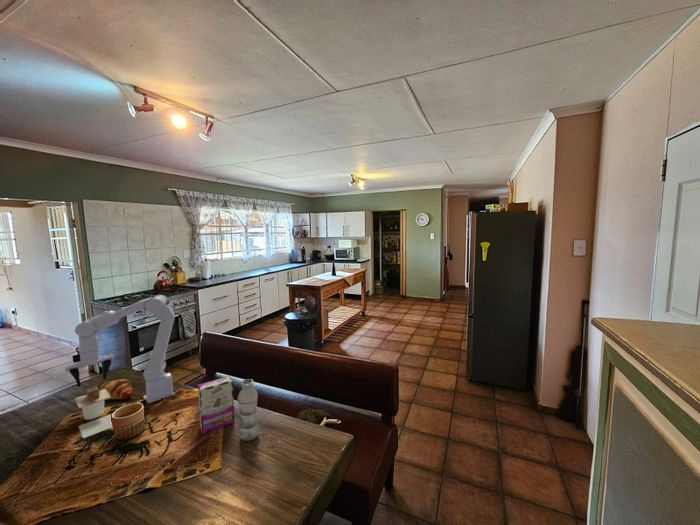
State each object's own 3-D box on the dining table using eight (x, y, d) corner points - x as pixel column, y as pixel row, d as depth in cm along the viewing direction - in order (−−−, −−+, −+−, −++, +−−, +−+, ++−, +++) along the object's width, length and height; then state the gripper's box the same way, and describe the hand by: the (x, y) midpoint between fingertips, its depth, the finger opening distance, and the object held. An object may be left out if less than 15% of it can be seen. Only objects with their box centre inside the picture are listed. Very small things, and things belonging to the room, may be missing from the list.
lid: (105, 390, 116) (104, 380, 116) (110, 397, 110) (110, 387, 110) (74, 399, 109) (74, 389, 109) (79, 408, 103) (78, 397, 103)
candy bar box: (231, 416, 110) (230, 375, 109) (234, 422, 106) (233, 380, 105) (199, 427, 104) (197, 384, 102) (201, 434, 100) (199, 389, 98)
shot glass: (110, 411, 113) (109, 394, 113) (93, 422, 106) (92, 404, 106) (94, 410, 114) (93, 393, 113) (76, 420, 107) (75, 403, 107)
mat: (113, 414, 111) (113, 413, 111) (119, 424, 105) (119, 423, 105) (78, 427, 103) (78, 426, 103) (83, 439, 97) (83, 438, 97)
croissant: (96, 399, 128) (84, 388, 124) (118, 380, 135) (107, 369, 131) (125, 409, 119) (113, 398, 115) (146, 388, 127) (136, 377, 123)
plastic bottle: (253, 445, 95) (251, 387, 93) (234, 442, 96) (233, 385, 94) (262, 432, 101) (261, 378, 99) (245, 429, 102) (244, 376, 101)
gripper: (110, 342, 122) (112, 373, 123) (62, 352, 111) (65, 386, 112) (114, 346, 118) (116, 378, 119) (65, 357, 107) (67, 392, 108)
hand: (91, 382), depth 115 cm, fingers open, 7 cm apart
